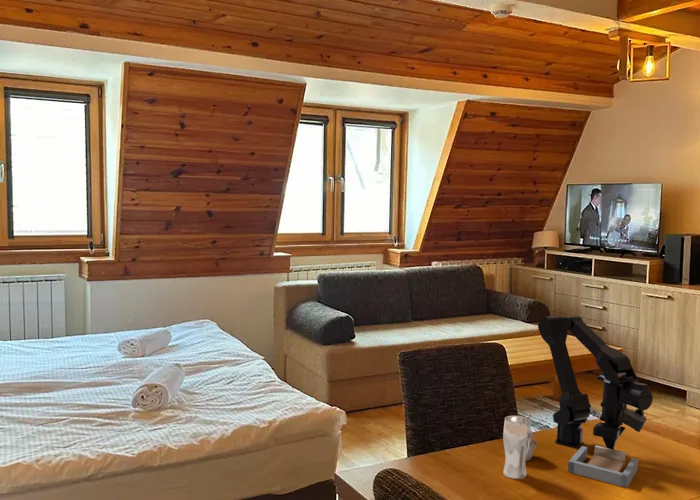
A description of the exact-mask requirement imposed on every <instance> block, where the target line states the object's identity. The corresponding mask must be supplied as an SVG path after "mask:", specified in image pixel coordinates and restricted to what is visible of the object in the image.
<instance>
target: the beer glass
mask: <svg viewBox="0 0 700 500" xmlns="http://www.w3.org/2000/svg"><path fill="white" fill-rule="evenodd" d="M503 424H504V425H503V433H502V437H503V440H502V441H503V448H504V456H505V458H504V459H505V461H504V466H503V470H502V473H503V475H504V476H505V477H507V478H510V479H512V480H523V479H525V478H527V476H528V475H527V474H528V473H527V465H526V462H527V461H526V457H527V453H528V449H529V444H530V430H531V420H530V419H529V418H527V417H525V416H520V415H508V416H505V417H504V423H503Z"/></svg>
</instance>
